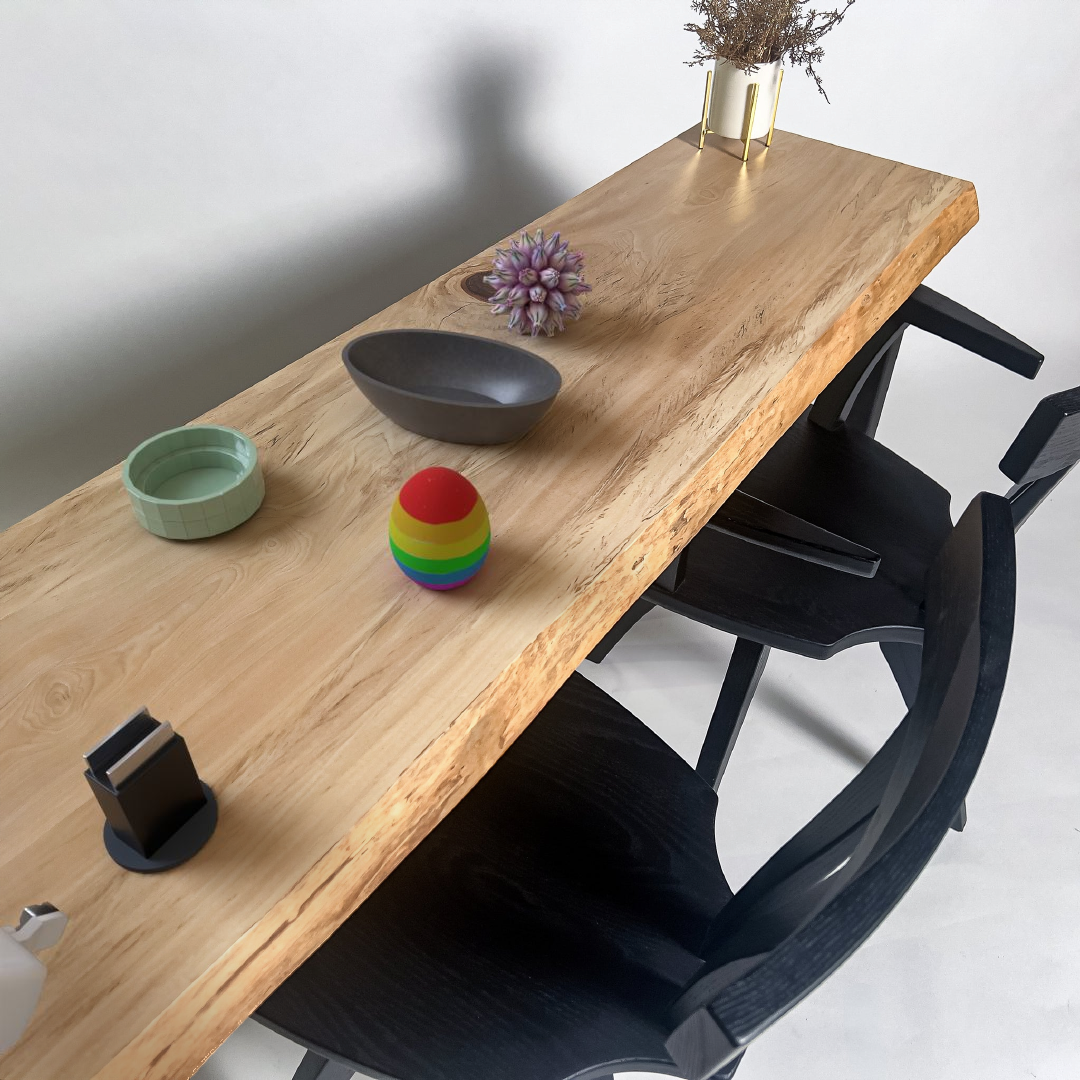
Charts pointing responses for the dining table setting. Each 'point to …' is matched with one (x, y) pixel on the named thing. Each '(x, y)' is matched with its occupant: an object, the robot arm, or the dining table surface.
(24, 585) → the dining table surface
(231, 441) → the green bowl
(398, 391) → the bowl
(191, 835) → the coaster
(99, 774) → the clip
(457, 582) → the decorative egg
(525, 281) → the flower
